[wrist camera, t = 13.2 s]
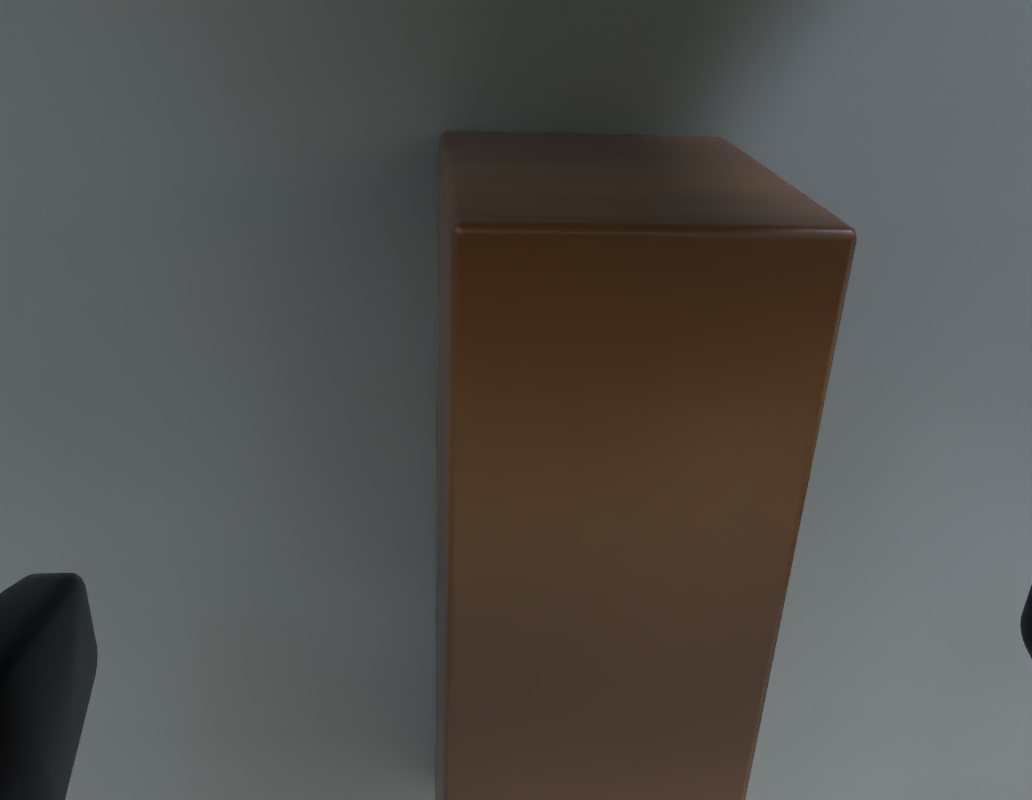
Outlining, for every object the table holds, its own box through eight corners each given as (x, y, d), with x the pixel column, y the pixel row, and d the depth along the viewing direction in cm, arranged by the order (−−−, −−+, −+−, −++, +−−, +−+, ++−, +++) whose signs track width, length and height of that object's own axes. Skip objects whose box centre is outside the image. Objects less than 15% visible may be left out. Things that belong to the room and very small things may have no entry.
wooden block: (640, 778, 12) (704, 1016, 10) (435, 788, 12) (441, 1036, 9) (726, 136, 9) (863, 230, 6) (438, 128, 9) (451, 224, 6)
